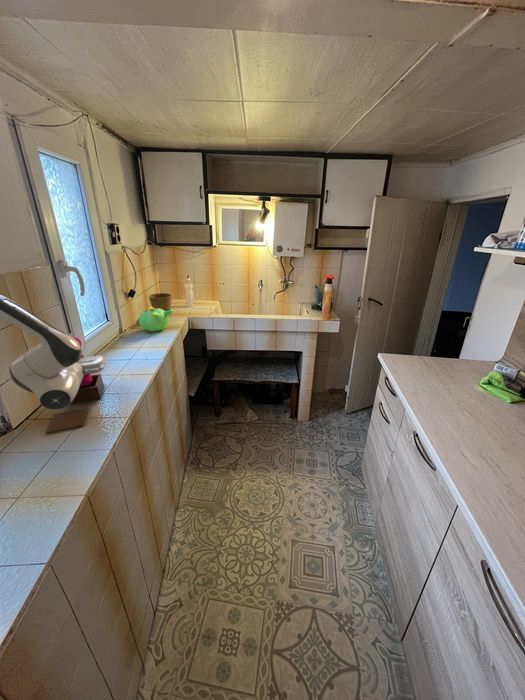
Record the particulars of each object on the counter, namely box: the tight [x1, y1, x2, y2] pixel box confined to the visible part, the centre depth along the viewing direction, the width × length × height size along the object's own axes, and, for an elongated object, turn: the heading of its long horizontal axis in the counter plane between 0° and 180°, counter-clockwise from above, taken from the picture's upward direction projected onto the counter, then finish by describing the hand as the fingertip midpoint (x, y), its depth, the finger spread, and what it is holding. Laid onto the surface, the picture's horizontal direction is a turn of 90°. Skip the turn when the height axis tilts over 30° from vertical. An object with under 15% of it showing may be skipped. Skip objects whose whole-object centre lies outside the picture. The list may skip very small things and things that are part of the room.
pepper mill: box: [67, 332, 92, 386], centre depth 103 cm, size 7×7×20 cm
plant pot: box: [148, 292, 173, 318], centre depth 196 cm, size 15×15×16 cm
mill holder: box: [68, 373, 105, 406], centre depth 109 cm, size 11×11×6 cm
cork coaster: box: [46, 407, 89, 435], centre depth 95 cm, size 10×10×1 cm
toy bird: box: [138, 305, 174, 332], centre depth 173 cm, size 18×17×15 cm
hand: (76, 357), depth 104 cm, fingers closed on pepper mill, 4 cm apart
